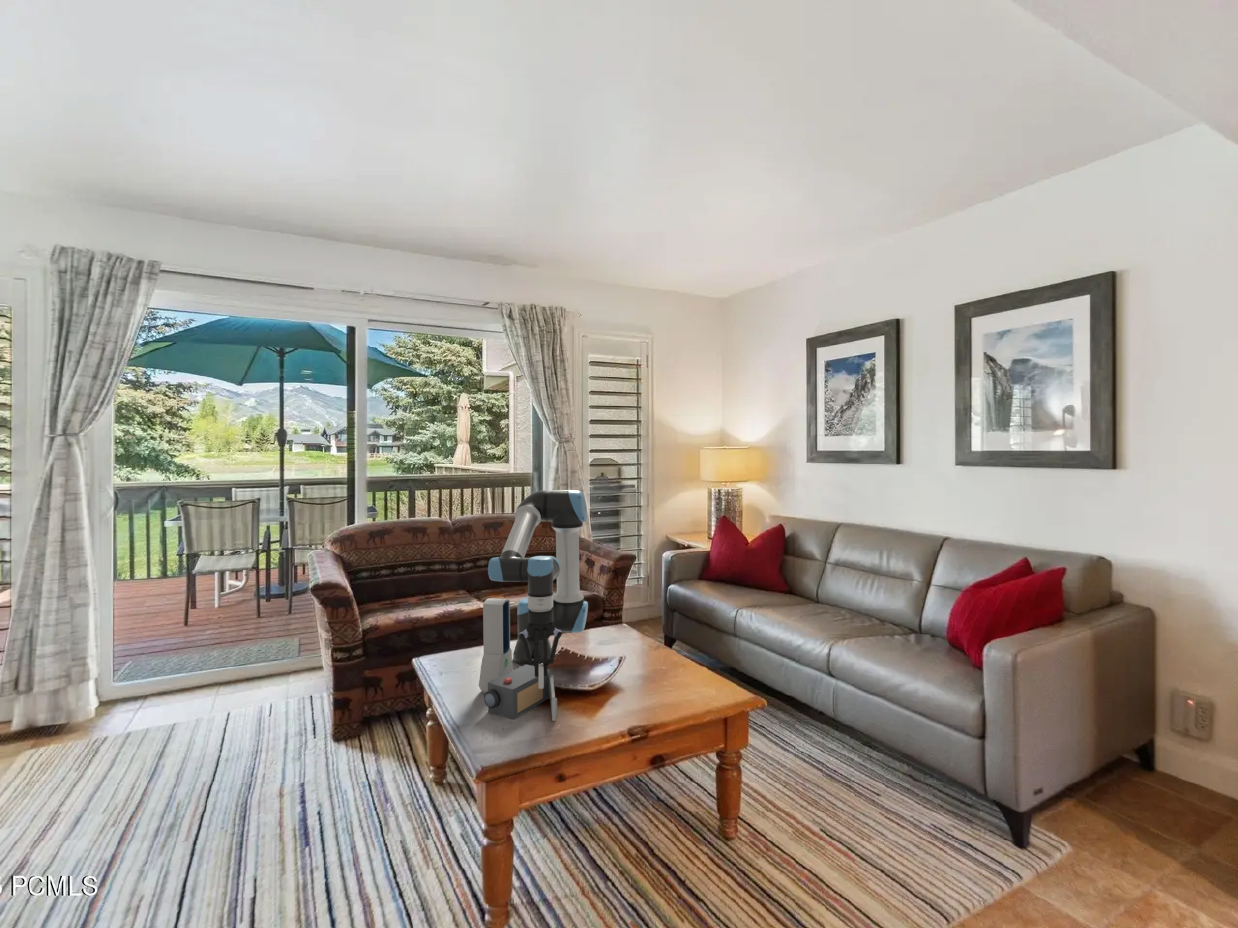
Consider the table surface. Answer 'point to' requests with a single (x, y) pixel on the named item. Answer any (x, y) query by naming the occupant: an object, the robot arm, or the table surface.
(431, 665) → the table surface
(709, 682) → the table surface
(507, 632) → the electronic device
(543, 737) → the table surface
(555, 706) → the grey thin flat plate
